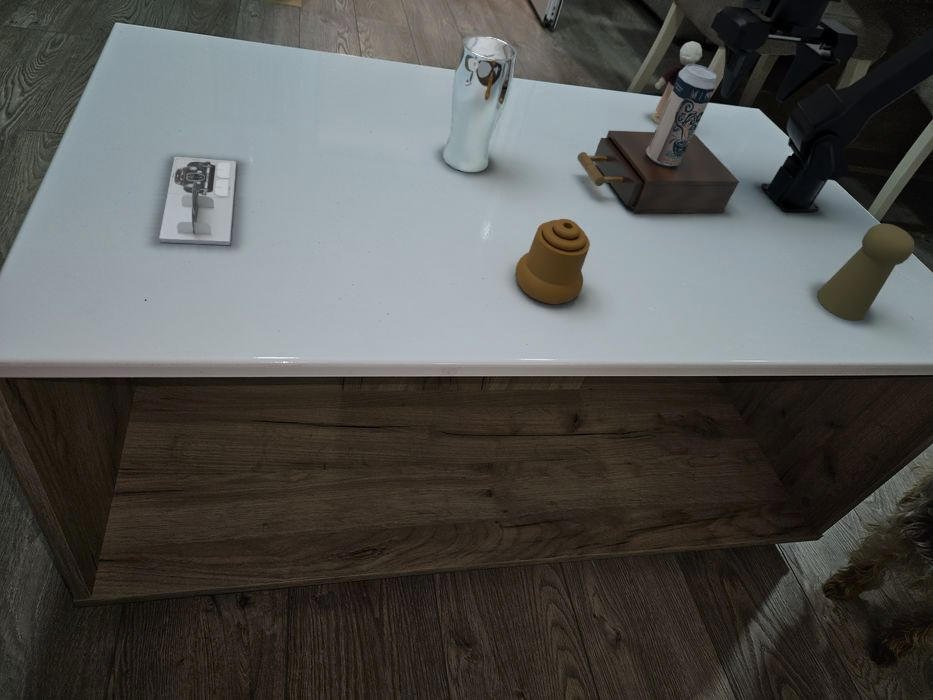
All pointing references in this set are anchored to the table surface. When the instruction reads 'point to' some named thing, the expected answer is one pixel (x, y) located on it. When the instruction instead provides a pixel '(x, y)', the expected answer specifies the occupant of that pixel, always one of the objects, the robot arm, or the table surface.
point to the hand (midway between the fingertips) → (751, 98)
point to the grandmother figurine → (676, 74)
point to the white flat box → (199, 202)
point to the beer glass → (478, 100)
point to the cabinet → (677, 177)
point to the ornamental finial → (554, 262)
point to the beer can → (681, 114)
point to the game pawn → (866, 272)
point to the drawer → (613, 171)
